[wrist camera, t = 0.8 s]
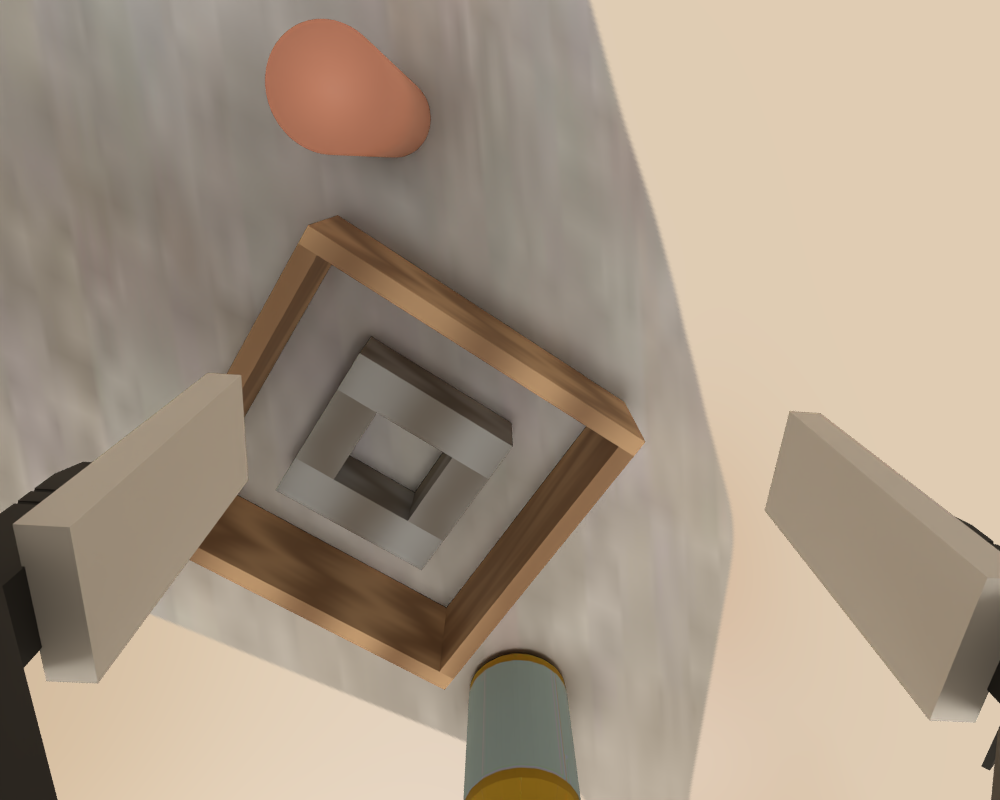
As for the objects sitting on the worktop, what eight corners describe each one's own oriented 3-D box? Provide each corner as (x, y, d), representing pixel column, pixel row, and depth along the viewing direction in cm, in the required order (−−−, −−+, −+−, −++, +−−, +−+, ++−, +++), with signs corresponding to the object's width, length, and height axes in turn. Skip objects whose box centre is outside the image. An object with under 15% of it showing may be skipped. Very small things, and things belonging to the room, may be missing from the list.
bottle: (512, 631, 46) (519, 839, 32) (584, 681, 47) (621, 902, 33) (450, 689, 48) (430, 912, 33) (521, 736, 49) (531, 967, 35)
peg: (341, 128, 34) (244, 107, 21) (378, 58, 33) (301, -10, 20) (405, 172, 35) (351, 179, 22) (444, 105, 34) (411, 69, 21)
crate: (187, 483, 42) (139, 534, 36) (337, 215, 36) (307, 225, 30) (451, 624, 45) (444, 689, 40) (624, 402, 40) (645, 441, 34)
